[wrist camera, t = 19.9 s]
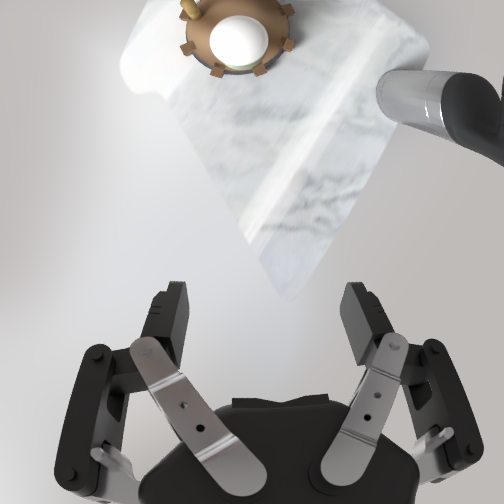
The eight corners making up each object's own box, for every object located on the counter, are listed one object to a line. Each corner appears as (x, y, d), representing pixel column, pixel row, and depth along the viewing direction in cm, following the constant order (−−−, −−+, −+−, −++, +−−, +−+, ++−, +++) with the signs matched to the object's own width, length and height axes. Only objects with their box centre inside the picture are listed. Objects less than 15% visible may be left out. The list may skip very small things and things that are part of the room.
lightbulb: (268, 35, 29) (277, 15, 20) (258, 75, 33) (262, 68, 23) (222, 26, 29) (214, 4, 19) (212, 66, 32) (199, 57, 22)
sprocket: (205, -26, 25) (196, -50, 17) (311, 6, 28) (327, -12, 21) (164, 63, 33) (144, 57, 25) (270, 95, 36) (277, 96, 29)
